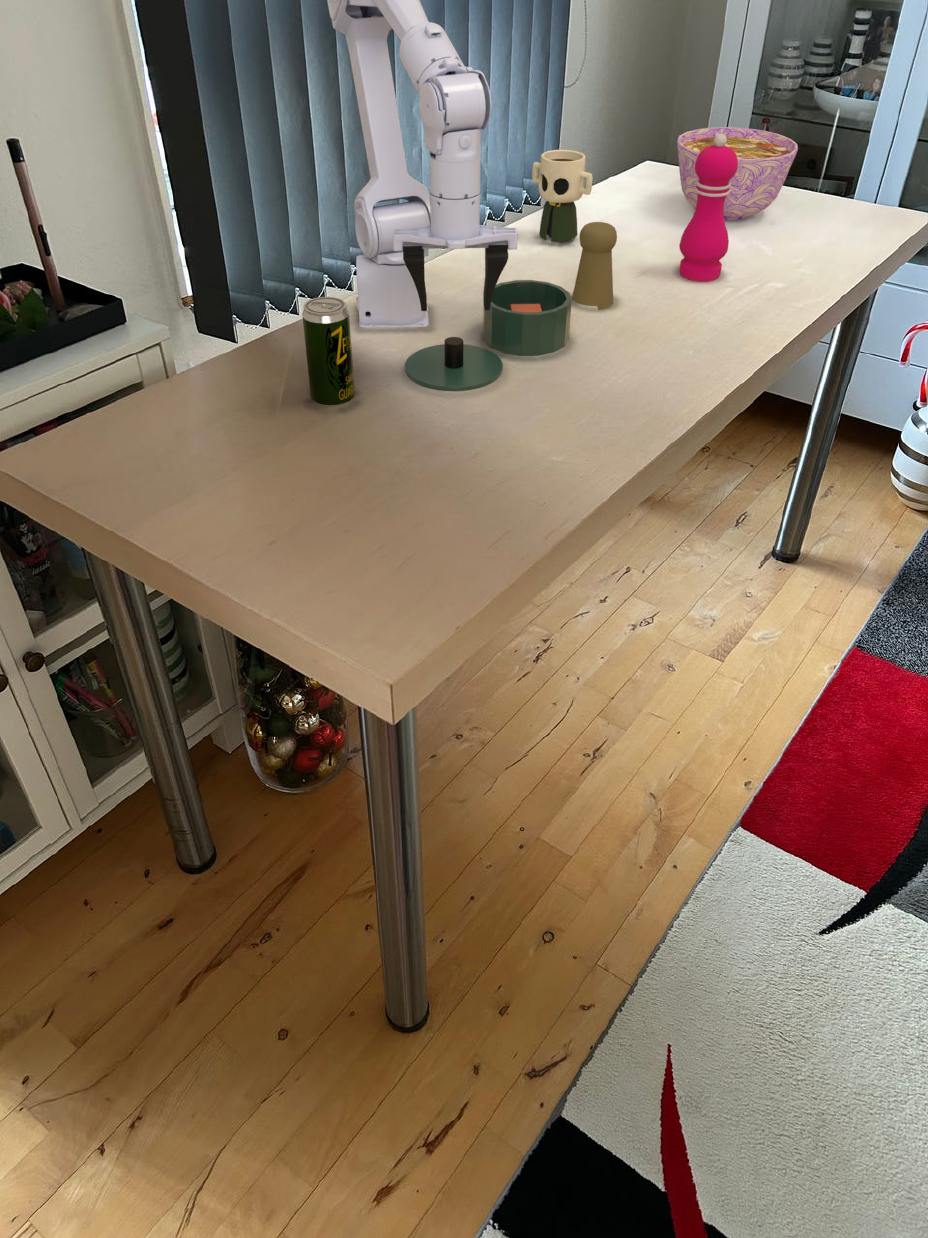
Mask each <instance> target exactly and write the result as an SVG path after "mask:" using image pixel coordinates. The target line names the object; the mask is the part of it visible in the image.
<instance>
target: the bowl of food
mask: <svg viewBox="0 0 928 1238" xmlns="http://www.w3.org/2000/svg"><path fill="white" fill-rule="evenodd" d="M718 134H723V135H725V136H726V139H727V141H726V144H725V145H724V146H727V147H729V148H731V149H732V150H733V151H734V152H735V153H736V155H737V159H738V168H737V171H736V173H735V175H734V176H733V177H732V178H731V179H730V181H729V182H730V183H731V187H730V189H729V190H730V193H729V194H728V195H726V198H725V202H724V210H723V213H724V221H727V222H728V221H730V222H731V221H732V222H733V221H734V222H735V221H740V220H741V221H742V220H745V219H747V218H748V217H749V216H752V215H755V214H757V213H760V212H762V211H764V210H766V209H767V208H768V207H770V205H772V203H773V202H774V201H775V200H776V199H777V198H778V196H779V194H780V192H781V189H782V188H783V186H784V183H785V181H786V179H787V176H788V174H789V173H790V172H789V171H790V169H791V167H792V165H793V163H794V160H795V159H796V156H797V153H798V150H799V147H798V143H797V142H795V141H794V140H793V139H792V138H789V137H788V136H784V135H782V134H779V133H775V132H772V131H768V130H762V129H755V128H748V127H735V126H733V127H732V126H719V127H718V126H716V127H704V128H697V129H692V130H689V131H686V132H684V133H682V134H680V135H679V136H678V138H677V141H676V144H677V145H676V146H677V156H678V158H677V159H678V170H679V171H678V172H679V181H680V187H681V191H682V193H683V195H684V198H685V199H686V201H687V202H688V203H689V204H690V205H691V206H693V208H695V209H696V204H697V192H696V191H695V188H696V181H697V180H699V177H698V176H697V174H696V172H695V163H696V159H697V157H698V155H699V153H700V152H701V151H702V150H703V149H704V148H706V147H708V146H711V145H714V138H715V137H716V136H717V135H718Z"/></svg>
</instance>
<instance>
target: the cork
mask: <svg viewBox="0 0 928 1238" xmlns="http://www.w3.org/2000/svg"><path fill="white" fill-rule="evenodd" d="M617 233H618V232H617V230H616V227H615V226H614V225H612V224H611V223H608V222H604V221H591V222H588V223H586V224H584V225H583V227H582V228H581V229H580V232H579V243H580V247H581V248H582V249H581V254H580V259H579V264H578V267H577V268H578V269H577V273H576V278H575V283H574V288H573V293H572V296H571V299H572V301H573V302H576V303H577V304H580V305H583V306H588V307H597V310H598V311H600V310H605V309H609V308H611V307H613V305H614V282H613V281H614V280H613V279H614V278H613V251H612V250H613V249H614V248H615V246H616V244H617V242H618V234H617Z"/></svg>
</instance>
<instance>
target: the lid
mask: <svg viewBox="0 0 928 1238" xmlns="http://www.w3.org/2000/svg"><path fill="white" fill-rule="evenodd" d="M443 342H444V343H443V344H435V345H431V346H427V347H424V348H422V349H421V348H420V349H419V350H416V351H415V352H413V353H412V354H411V355H410V356H409V357H408V358H407V359H406V361H405V365H404V369H405V374H406V375H407V376H408V378H410V379H411V381H413V382H414V383H416V384H418V385H420V386H423V387H426V388H429V389H434V390H439V391H451V392H452V391H454V392H458V391H459V392H460V391H468V390H470V391H471V390H474V389H478V388H483V387H485V386H488V385H490V384H492V383H493V382H495V381H496V380H497V379H499V378H500V376H501V375H502V373H503V369H504V368H503V367H504V365H503V364H504V363H503V361H502V359H501V358H500V357H499V356H498V355H497V354H496V353H495V352H493V351H491V350H489V349H487V348H484V347H482V346H477V345H472V344H465V343H464V339H463V338H461V337H458V336H449V337H446V338H445V339H444V341H443Z"/></svg>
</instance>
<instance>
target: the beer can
mask: <svg viewBox="0 0 928 1238" xmlns="http://www.w3.org/2000/svg"><path fill="white" fill-rule="evenodd" d="M302 306H303V310H302V313H301V315H302V316H301V317H302V325H303V333H304V344H305V355H306V364H307V374H308V383H309V393H310V399H311V401H312V402H313V403H315V404H316V405H319V406H321V407H329V408H332V407H340V406H345V405H347V404H350V402H352V401H353V400H354V398H355V396H356V391H355V390H356V389H355V388H356V387H355V375H354V374H355V373H354V361H353V350H352V348H353V347H352V336H351V335H352V333H351V323H350V322H351V321H350V312H349V309H348V307H347V302H346V301H345V300H344V299H342V298H339V297H334V296H319V297H314V298H311V299H309V300H307V301H306V302H304V303H303V304H302Z"/></svg>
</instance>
